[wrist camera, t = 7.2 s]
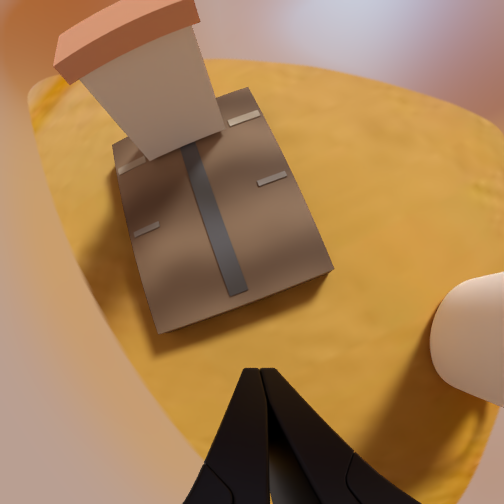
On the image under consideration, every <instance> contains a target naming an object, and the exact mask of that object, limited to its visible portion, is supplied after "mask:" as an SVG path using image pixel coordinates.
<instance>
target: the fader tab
mask: <svg viewBox="0 0 504 504" xmlns="http://www.w3.org/2000/svg"><path fill="white" fill-rule="evenodd" d="M199 22H200V19H199V16H198V13H197V9H196V6H195V3H194V0H121V1H119V2H116V3H114V4H112V5H110V6H109V7H107V8H105V9H103V10H101V11H99V12H97V13H95V14H94V15H92V16H90V17H88V18H87V19H85V20H83V21H82V22H80V23H78V24H77V25H75V26H73V27H72V28H70V29H69V30H67V31H65V32H64V33H62V34H61V35H59V39H58V44H57V48H56V54H55V59H54V65H53V67H54V68H55V69H56V70H57V71H58V72H59V73H60V75H61V76H62V77H63V78H64V79H65V80H66V81H67V82H68V84H69V85H71V84H72V83H74V82H76V81H77V80H80V81H81V82H82V83H83V84H84V85H85V87H86V88H87V89H88V90H89V91H90V93H91V94H92V95H93V96H94V97H95V98H96V100H97V101H98V102H99V103H100V104H101V105H102V107H103V108H104V109H105V110H106V111H107V112H108V114H109V115H110V116H111V117H112V118H113V119H114V121H115V122H116V123H117V124H118V125H119V126H120V128H121V129H122V130H123V131H124V132H125V133H126V134H127V136H128V137H129V138H130V139H131V140H132V141H133V143H134V144H135V145H136V146H137V147H138V148H139V149H140V151H141V152H142V153H143V154H144V155H145V156H146V157H147V159H148V160H149V161H151V160H153V159H155V158H157V157H160V156H162V155H164V154H166V153H168V152H171V151H173V150H175V149H178V148H180V147H182V146H184V145H187V144H189V143H192V142H194V141H196V140H199V139H201V138H204V137H206V136H209V135H211V134H214V133H216V132H219V131H222V130H224V129H226V128H225V125H224V122H223V119H222V116H221V113H220V110H219V107H218V104H217V101H216V98H215V95H214V91H213V88H212V85H211V82H210V79H209V76H208V73H207V70H206V67H205V64H204V61H203V58H202V55H201V52H200V49H199V46H198V43H197V40H196V37H195V34H194V31H193V28H192V25H193V24H196V23H199Z"/></svg>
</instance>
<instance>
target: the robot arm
mask: <svg viewBox="0 0 504 504" xmlns="http://www.w3.org/2000/svg"><path fill="white" fill-rule="evenodd" d="M270 493H271V497H272V502H273V504H421V503H420V502H418V501H417V500H415V499H414V498H412V497H411V496H409V495H408V494H406V493H405V492H403V491H402V490H400V489H399V488H397V487H396V486H395V485H393V484H392V483H391V482H389V481H388V480H387V479H385V478H384V477H383V476H381V475H380V474H379V473H378V472H377V471H375V470H374V469H373V468H372V467H371V466H370V465H369V464H368V463H366V462H365V461H364V460H363V459H362V458H361V457H360V456H359V455H358V454H357V453H356V452H355V453H354V450H353V449H352V448H351V447H350V446H349V445H348V444H347V443H346V442H345V441H344V440H343V439H342V438H341V437H340V436H339V435H338V434H337V433H336V432H335V431H334V430H333V429H332V428H331V427H330V426H329V425H328V424H327V423H326V422H325V421H324V420H323V419H322V418H321V417H320V416H319V415H318V414H317V413H316V412H315V411H314V410H313V408H312V407H311V406H310V405H309V404H308V403H307V402H306V401H305V400H304V399H303V398H302V397H301V396H300V395H299V394H298V392H297V391H296V390H295V389H294V388H293V387H292V386H291V385H290V384H289V383H288V382H287V381H286V379H285V378H284V377H283V376H282V375H281V374H280V373H279V372H278V371H277V370H276V369H275V368H261V369H260V370H259V369H258V368H244V369H243V371H242V373H241V376H240V378H239V381H238V383H237V386H236V388H235V391H234V393H233V396H232V398H231V400H230V403H229V405H228V408H227V410H226V412H225V415H224V417H223V420H222V422H221V424H220V427H219V429H218V431H217V434H216V436H215V438H214V441H213V443H212V445H211V448H210V450H209V452H208V455H207V457H206V459H205V461H204V464H203V466H202V468H201V470H200V472H199V474H198V477H197V479H196V481H195V483H194V485H193V487H192V488H191V490H190V492H189V494H188V496H187V497H186V499H185V501H184V502H183V504H270Z"/></svg>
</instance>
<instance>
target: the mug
mask: <svg viewBox="0 0 504 504" xmlns="http://www.w3.org/2000/svg"><path fill="white" fill-rule="evenodd" d="M430 352H431V358H432V361H433V365H434V367H435V369H436V371H437V373H438V374H439V376H440V377H441V378H442V379H443V380H444V381H445V382H447V383H448V384H449V385H451V386H453V387H455V388H457V389H459V390H461V391H464V392H466V393H469V394H471V395H473V396H476V397H478V398H481V399H483V400H486V401H488V402H491V403H493V404H496V405H498V406H501V407H504V272H500V273H496V274H491V275H487V276H482V277H478V278H473V279H470V280H467V281H464V282H462V283H460V284H459V285H457V286H456V287H454V288H453V289H452V290H451V291H450V292H449V293H448V294H447V295H446V296H445V298H444V299H443V300H442V302H441V304H440V306H439V307H438V309H437V312H436V314H435V317H434V320H433V323H432V327H431V333H430Z"/></svg>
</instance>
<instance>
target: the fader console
mask: <svg viewBox="0 0 504 504" xmlns="http://www.w3.org/2000/svg"><path fill="white" fill-rule="evenodd" d="M216 101H217V104H218V107H219V110H220V113H221V116H222V119H223V122H224V125H225V128H226V129H224V130H222V131H219V132H216V133H214V134H211V135H209V136H206V137H204V138H201V139H199V140H196V141H194V142H192V143H189V144H187V145H184V146H182V147H180V148H178V149H175V150H173V151H171V152H168V153H166V154H164V155H162V156H160V157H157V158H155V159H153V160H151V161H149V160H148V159H147V157H146V156H145V155H144V154H143V153H142V152H141V151H140V149H139V148H138V147H137V146H136V145H135V144H134V143H133V141H132V140H131V139H130V138H129V137H126V138H124V139H122V140H121V141H119V142H117V143H115V144H113V145H112V147H113V154H114V160H115V166H116V172H117V178H118V183H119V188H120V194H121V199H122V204H123V208H124V213H125V218H126V222H127V226H128V231H129V235H130V239H131V243H132V247H133V251H134V255H135V259H136V263H137V266H138V270H139V274H140V277H141V281H142V284H143V288H144V291H145V294H146V298H147V301H148V304H149V308H150V311H151V314H152V317H153V320H154V323H155V326H156V329H157V332H158V334H163V333H168V332H172V331H175V330H178V329H181V328H183V327H186V326H189V325H192V324H195V323H198V322H201V321H204V320H207V319H209V318H212V317H215V316H218V315H221V314H223V313H226V312H229V311H232V310H234V309H237V308H240V307H243V306H245V305H248V304H251V303H253V302H256V301H259V300H261V299H264V298H267V297H269V296H272V295H274V294H277V293H280V292H282V291H285V290H287V289H290V288H292V287H295V286H297V285H300V284H302V283H305V282H307V281H310V280H312V279H315V278H317V277H320V276H322V275H325V274H327V273H329V272H331V271H332V270H334V267H333V265H332V262H331V260H330V257H329V255H328V252H327V250H326V248H325V245H324V243H323V241H322V238H321V236H320V234H319V231H318V229H317V227H316V224H315V222H314V220H313V218H312V215H311V213H310V211H309V209H308V206H307V204H306V202H305V200H304V198H303V195H302V193H301V191H300V189H299V187H298V185H297V182H296V180H295V178H294V176H293V174H292V172H291V170H290V168H289V166H288V164H287V161H286V159H285V157H284V155H283V153H282V151H281V149H280V147H279V145H278V143H277V141H276V139H275V137H274V135H273V133H272V131H271V129H270V127H269V126H268V124H267V122H266V120H265V118H264V116H263V114H262V112H261V110H260V108H259V106H258V105H257V103H256V101H255V99H254V97H253V95H252V93H251V92H250V90H249V88H248V87H246V88H243V89H240V90H237V91H234V92H232V93H229V94H226V95H223V96H220V97H218V98H216Z"/></svg>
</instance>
